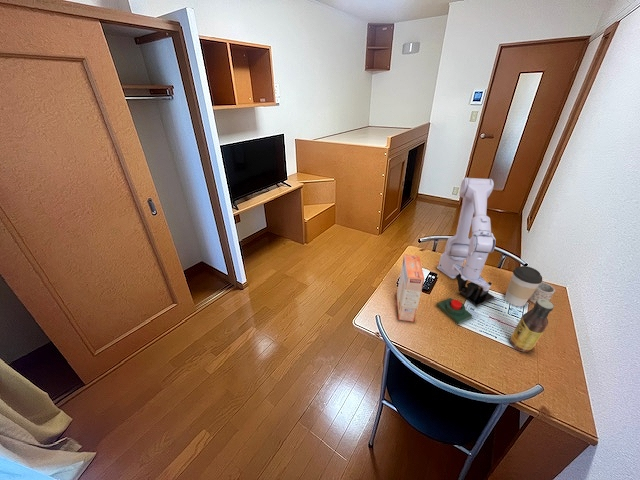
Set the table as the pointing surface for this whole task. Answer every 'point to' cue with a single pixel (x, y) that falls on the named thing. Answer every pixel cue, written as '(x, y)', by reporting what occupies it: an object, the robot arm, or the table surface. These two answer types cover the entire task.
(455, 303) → the button
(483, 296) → the bracket
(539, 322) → the sauce bottle
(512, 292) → the coffee cup
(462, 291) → the lever
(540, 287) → the mug
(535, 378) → the table surface
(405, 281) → the cracker box
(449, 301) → the block
